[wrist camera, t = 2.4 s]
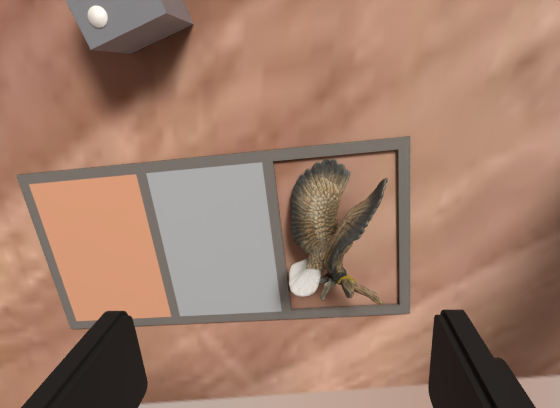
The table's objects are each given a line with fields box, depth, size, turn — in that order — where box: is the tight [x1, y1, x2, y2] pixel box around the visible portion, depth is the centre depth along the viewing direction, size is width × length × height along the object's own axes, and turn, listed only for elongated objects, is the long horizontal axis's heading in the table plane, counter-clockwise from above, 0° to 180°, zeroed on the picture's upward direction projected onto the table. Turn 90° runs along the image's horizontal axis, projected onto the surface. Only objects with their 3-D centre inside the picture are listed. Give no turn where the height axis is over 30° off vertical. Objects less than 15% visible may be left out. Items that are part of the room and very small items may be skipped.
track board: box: [16, 136, 410, 329], centre depth 30 cm, size 30×15×1 cm, turn 96°
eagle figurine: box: [289, 159, 387, 305], centre depth 26 cm, size 8×7×9 cm
